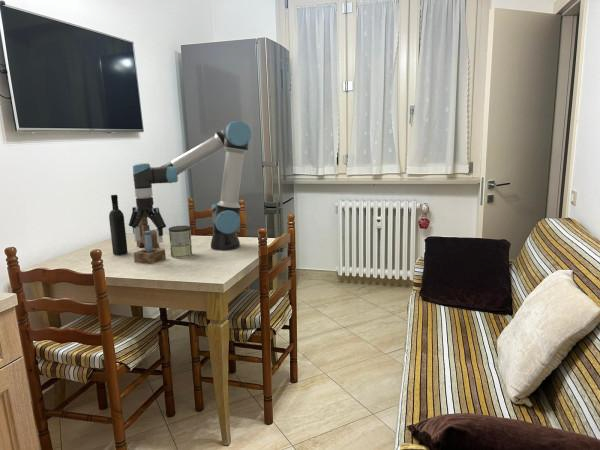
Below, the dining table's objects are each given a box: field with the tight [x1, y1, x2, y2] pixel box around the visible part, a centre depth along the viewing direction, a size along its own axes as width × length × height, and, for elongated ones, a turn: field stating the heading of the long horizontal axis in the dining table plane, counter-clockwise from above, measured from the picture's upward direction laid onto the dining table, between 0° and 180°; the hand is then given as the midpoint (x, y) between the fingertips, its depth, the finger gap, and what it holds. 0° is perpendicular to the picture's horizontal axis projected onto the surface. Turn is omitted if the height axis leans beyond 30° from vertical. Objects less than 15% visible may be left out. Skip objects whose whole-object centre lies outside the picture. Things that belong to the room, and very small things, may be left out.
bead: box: [133, 248, 167, 265], centre depth 205 cm, size 10×10×4 cm
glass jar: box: [168, 225, 193, 259], centre depth 211 cm, size 10×10×14 cm
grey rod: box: [144, 231, 153, 253], centre depth 204 cm, size 3×3×14 cm
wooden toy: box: [136, 205, 160, 249], centre depth 230 cm, size 16×7×25 cm, turn 44°
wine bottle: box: [108, 194, 129, 256], centre depth 216 cm, size 6×6×30 cm
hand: (148, 241), depth 203 cm, fingers open, 13 cm apart
